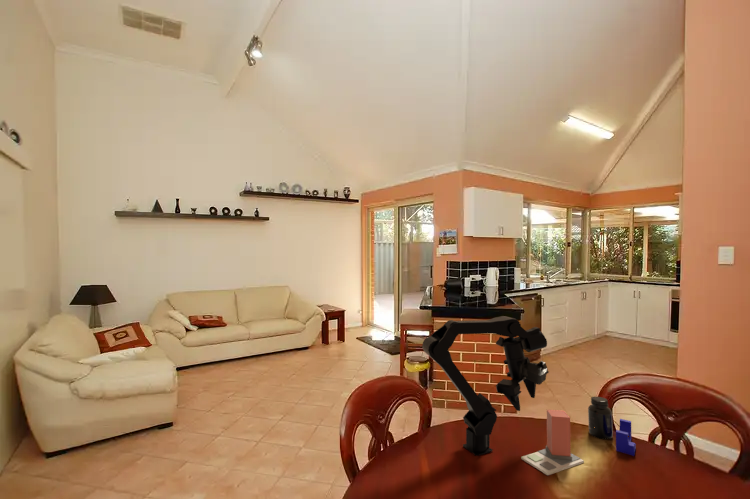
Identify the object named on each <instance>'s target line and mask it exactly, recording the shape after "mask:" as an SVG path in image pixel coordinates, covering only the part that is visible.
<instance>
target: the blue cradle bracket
mask: <svg viewBox="0 0 750 499" xmlns="http://www.w3.org/2000/svg"><path fill="white" fill-rule="evenodd" d="M628 436H629V437H628ZM636 446H637V444H636V443H635V442H633V441H632V420H627V419H622V418H619V430H618V429H616V430H615V451H616V452H618V453H622V454H626V455H630V456H632V457H635V453H636V448H637V447H636Z"/></svg>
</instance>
